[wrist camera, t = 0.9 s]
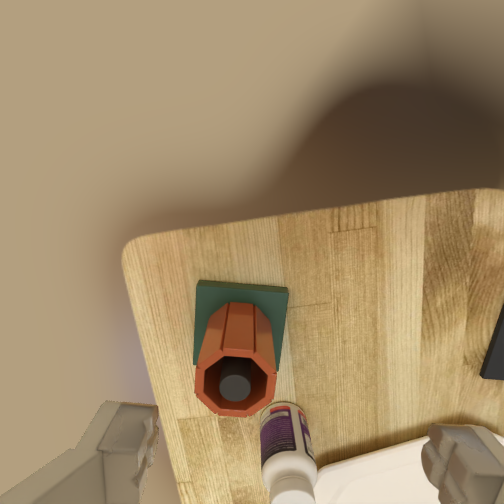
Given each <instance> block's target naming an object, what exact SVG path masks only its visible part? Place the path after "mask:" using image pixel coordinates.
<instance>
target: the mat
mask: <svg viewBox="0 0 504 504" xmlns="http://www.w3.org/2000/svg"><path fill="white" fill-rule="evenodd" d="M480 376H481V377H482V378H483V379H495V380H504V305H503V308H502V311H501V314H500V317H499V319H498V322H497V325H496V328H495V331H494V334H493V337H492V340H491V343H490V346H489V349H488V352H487V355H486V358H485V361H484V364H483V366H482V369H481V372H480Z"/></svg>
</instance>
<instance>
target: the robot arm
mask: <svg viewBox="0 0 504 504" xmlns="http://www.w3.org/2000/svg"><path fill="white" fill-rule="evenodd" d="M158 416H159V415H158V406H157V405H152V404H141V403H131V402H115V401H105V402H104V403H103V404H102V405H101V406H100V408H99V410H98V411H97V413H96V415H95V417H94V418H93V420H92V421H91V423H90V425H89V427H88V428H87V430H86V431H85V433H84V435H83V436H82V438H81V440H80V442H79V443H78V445H77V446H76V448H75V449H68V450H67V451H65V452H64V453H63V454H61V455H60V456H58V457H57V458H55V459H54V460H52V461H51V462H49V463H48V464H46V465H45V466H44V467H42V468H41V469H39V470H38V471H36V472H35V473H33V474H32V475H30V476H29V477H27V478H26V479H25V480H23V481H22V482H20V483H19V484H17V485H16V486H14V487H13V488H11V489H10V490H8V491H7V492H6V493H4V494H3V495H1V496H0V504H140V501H141V498H142V495H143V492H144V489H145V486H146V483H147V469H148V468H149V467H150V466H151V465H152V464H153V460H154V457H155V454H156V449H157V444H158V435H159V432H158V431H159V428H158V426H157V425H156V421H157V418H158ZM427 435H428V437H429V439H430V440H429V441H428V442H426V443H425V444H424V445H423V447H422V451H421V462H422V467H423V470H424V473H425V475H426V477H427V479H428V481H429V482H430V483H431V484H432V485H433V486H434V487H436V488H437V489H438V490H439V493H438V499H439V501H440V503H441V504H504V446H503V445H502V444H501V443H500V442H499V441H498V440H497V438H496V437H495V436H494V435H493V434H492V433H491V431H490V430H489V429H487V428H486V427H484V426H473V425H453V424H435V423H432V424H431V425H430V426H429V428H428V431H427Z"/></svg>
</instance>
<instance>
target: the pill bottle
mask: <svg viewBox="0 0 504 504" xmlns="http://www.w3.org/2000/svg"><path fill="white" fill-rule="evenodd" d="M260 441H261V470H262V480H263V484H264V486H265V488H266V489H267V490H268V492H269V493H270V504H316V502H315V496H314V491H313V489H314V487H315V485H316V483H317V478H318V472H317V466H316V462H315V457H314V452H313V448H312V443H311V438H310V434H309V429H308V425H307V420H306V417H305V414H304V412H303V411H302V410H301V409H300V408H299V407H298V406H296V405H294V404H291V403H286V402H280V403H276V404H273V405H271V406H269V407H268V408H267V409H266V410H265V411H264V412H263V413H262V415H261V418H260Z"/></svg>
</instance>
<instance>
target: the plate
mask: <svg viewBox="0 0 504 504" xmlns="http://www.w3.org/2000/svg"><path fill="white" fill-rule="evenodd" d="M473 426H475V425H473ZM491 433H492V434H493V435H494V436H495V437H496V438H497V440H498V441H499V442H500V443H501V444H502V445H503V446H504V437H503V436H500V435H498V434H495V433H493V432H491ZM429 440H430V439H429V437H428V436H424V437H421V438H418V439H414V440H411V441H407V442H404V443H401V444H397V445H394V446H390V447H387V448H383V449H380V450H377V451H373V452H370V453H366V454H363V455H359V456H356V457H353V458H349V459H346V460H342V461H339V462H336V463H332V464H329V465H325V466H323V467H322V468H320V469H319V470H318V478H317V483H316V485H315V487H314V489H313V491H314V496H315V502H316V504H441V503H440V501H439V499H438V493H439V490H438V489H437V488H436V487H434V486H433V485H432V484H431V483H430V482H429V481H428V479H427V477H426V475H425V473H424V470H423V467H422V462H421V451H422V447H423V445H424V444H425V443H426V442H428V441H429Z"/></svg>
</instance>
